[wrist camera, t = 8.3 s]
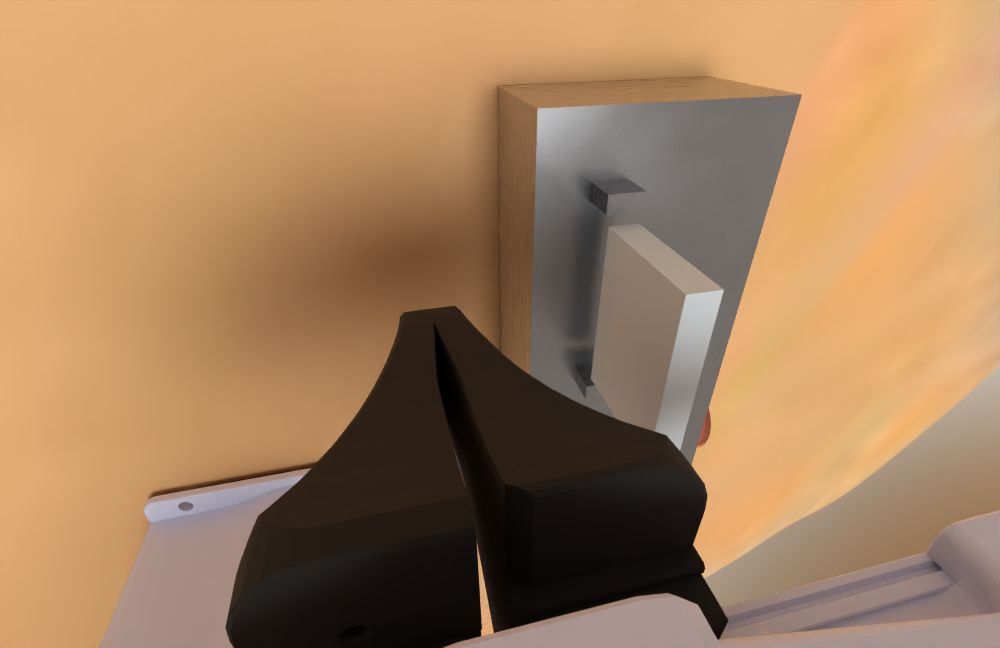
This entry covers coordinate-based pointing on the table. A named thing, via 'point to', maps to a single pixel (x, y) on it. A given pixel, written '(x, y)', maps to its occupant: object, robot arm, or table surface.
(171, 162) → the table surface
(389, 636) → the robot arm
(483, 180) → the table surface
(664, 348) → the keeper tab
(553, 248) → the block
